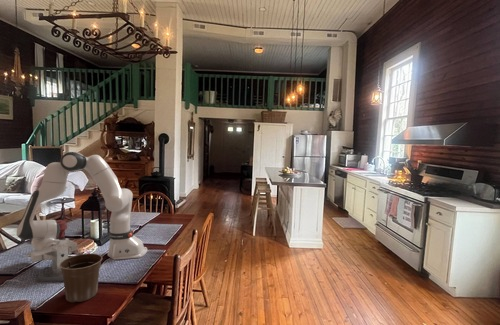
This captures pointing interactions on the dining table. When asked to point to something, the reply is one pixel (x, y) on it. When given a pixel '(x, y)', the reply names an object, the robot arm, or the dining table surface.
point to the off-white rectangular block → (58, 256)
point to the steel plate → (50, 276)
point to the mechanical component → (62, 229)
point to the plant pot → (81, 276)
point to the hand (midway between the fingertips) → (60, 255)
